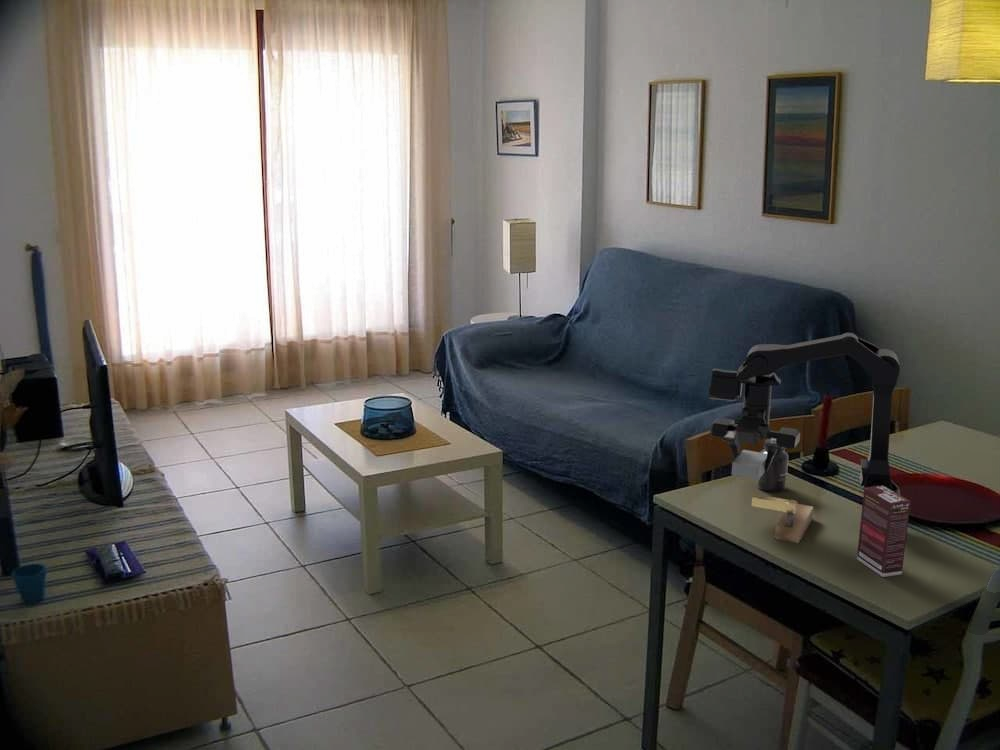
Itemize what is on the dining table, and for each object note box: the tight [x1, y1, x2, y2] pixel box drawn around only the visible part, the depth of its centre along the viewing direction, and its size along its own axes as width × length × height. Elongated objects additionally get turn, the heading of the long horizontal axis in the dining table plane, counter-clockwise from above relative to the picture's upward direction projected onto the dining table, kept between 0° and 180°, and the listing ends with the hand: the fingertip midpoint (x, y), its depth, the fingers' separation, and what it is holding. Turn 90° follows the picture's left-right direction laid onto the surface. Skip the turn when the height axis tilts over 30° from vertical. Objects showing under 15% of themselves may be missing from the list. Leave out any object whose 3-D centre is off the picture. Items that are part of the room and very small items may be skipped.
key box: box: [774, 503, 814, 544], centre depth 210 cm, size 5×14×6 cm, turn 151°
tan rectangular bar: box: [751, 494, 798, 513], centre depth 206 cm, size 2×9×2 cm, turn 64°
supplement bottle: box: [756, 439, 789, 493], centre depth 232 cm, size 7×7×12 cm
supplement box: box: [856, 486, 912, 578], centre depth 192 cm, size 9×5×16 cm, turn 17°
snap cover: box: [731, 449, 767, 481], centre depth 215 cm, size 6×9×3 cm, turn 151°
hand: (752, 468), depth 216 cm, fingers closed on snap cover, 6 cm apart
